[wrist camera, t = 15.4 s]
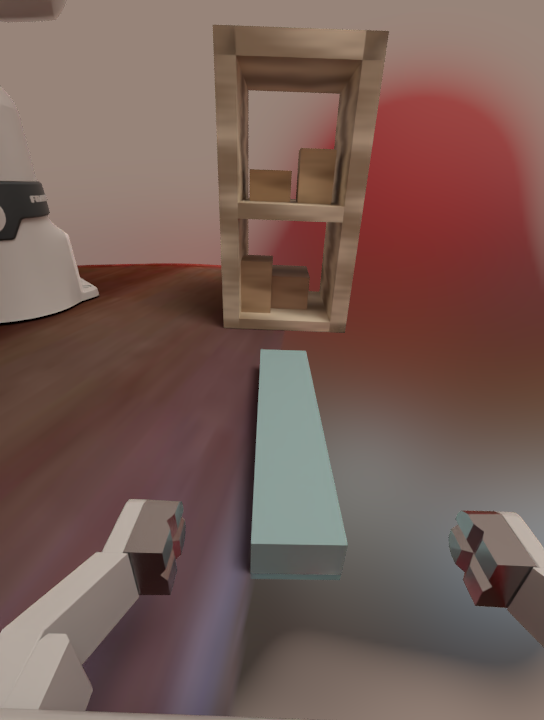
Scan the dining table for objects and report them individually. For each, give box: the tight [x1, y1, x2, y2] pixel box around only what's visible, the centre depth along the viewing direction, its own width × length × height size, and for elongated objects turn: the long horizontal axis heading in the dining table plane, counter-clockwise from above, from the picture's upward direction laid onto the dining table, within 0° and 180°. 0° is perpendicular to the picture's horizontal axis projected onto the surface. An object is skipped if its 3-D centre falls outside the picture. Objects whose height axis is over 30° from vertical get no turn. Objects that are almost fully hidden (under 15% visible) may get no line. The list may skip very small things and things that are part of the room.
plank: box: [250, 350, 348, 580], centre depth 22 cm, size 18×4×2 cm, turn 0°
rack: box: [213, 25, 389, 333], centre depth 38 cm, size 12×14×26 cm
